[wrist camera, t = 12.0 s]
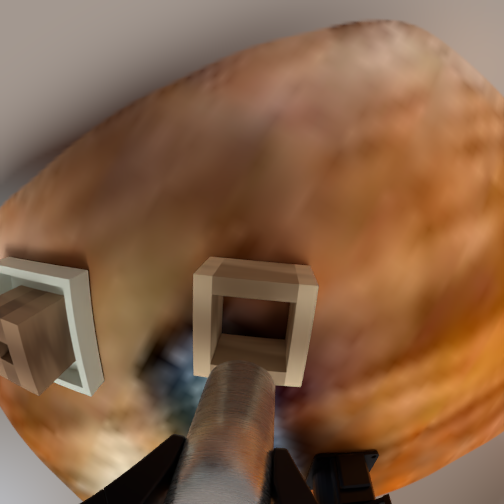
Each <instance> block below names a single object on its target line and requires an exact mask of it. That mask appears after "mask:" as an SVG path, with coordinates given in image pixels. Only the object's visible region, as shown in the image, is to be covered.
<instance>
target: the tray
mask: <svg viewBox="0 0 504 504" xmlns="http://www.w3.org/2000/svg"><path fill="white" fill-rule="evenodd" d="M20 285H23V286H26V287H30V288H34V289H38V290H42V291H47V292H51V293H55V294H59V295H64V298H65V305H66V312H67V318H68V324H69V329H70V335H71V340H72V345H73V349H74V354H75V358H76V361H75V362H74V363H73V364H72V365H71V366H70V367H69V368H68V369H67V370H66V371H64V372H63V373H62V374H61V375H60V376H59V377H58V378H57V379H56V380H55V381H54V382H55V383H57V384H59V385H62V386H64V387H67V388H69V389H72V390H75V391H77V392H80V393H83V394H86V395H88V396H91V397H92V395H93V394H94V393H95V392H96V390H97V389H98V388H99V387H100V386H101V384H102V383H103V382H104V377H103V373H102V368H101V363H100V358H99V352H98V347H97V341H96V335H95V328H94V321H93V314H92V306H91V297H90V287H89V276H88V270H84V269H77V268H71V267H65V266H59V265H53V264H47V263H41V262H35V261H29V260H24V259H18V258H13V257H7V258H4V259H1V260H0V295H1V294H3V293H5V292H7V291H9V290H12V289H14V288H16V287H18V286H20Z"/></svg>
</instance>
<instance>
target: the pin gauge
mask: <svg viewBox="0 0 504 504" xmlns="http://www.w3.org/2000/svg"><path fill="white" fill-rule="evenodd" d="M274 410H275V384H274V380H273V378H272V377H271V375H270V374H269V373H268V372H267V371H266V370H265V369H264V368H262V367H261V366H259V365H257V364H255V363H252V362H249V361H243V360H232V361H227V362H224V363H221V364H219V365H218V366H216V367H215V368H214V369H213V370H212V371H211V372H210V374H209V376H208V379H207V381H206V384H205V387H204V390H203V393H202V395H201V398H200V401H199V404H198V407H197V410H196V412H195V415H194V418H193V421H192V424H191V427H190V429H189V432H188V435H187V438H186V441H185V443H184V446H183V449H182V452H181V455H180V458H179V460H178V463H177V466H176V469H175V472H174V475H173V477H172V480H171V483H170V486H169V489H168V491H167V494H166V497H165V500H164V503H163V504H271V490H272V464H273V442H274Z"/></svg>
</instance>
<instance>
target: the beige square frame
mask: <svg viewBox="0 0 504 504" xmlns="http://www.w3.org/2000/svg"><path fill="white" fill-rule="evenodd" d="M318 287H319V285H318V283H317V281H316V278H315V276H314V273H313V271H312V269H311V266H308V265H297V264H286V263H275V262H264V261H253V260H242V259H231V258H220V257H209V258H208V259H207V260H206V261H205V262H204V263H203V264H202V265H201V266H200V268H199V269H198V270H197V271H196V272H195V273H194V274H193V367H194V375H195V376H202V377H208V376H209V374H210V372H211V371H212V370H213V369H214V368H215V367H216V366H218V365H219V364H221V363H224V362H227V361H232V360H243V361H249V362H252V363H255V364H257V365H259V366H261V367H262V368H264V369H265V370H266V371H267V372H268V373H269V374H270V375H271V377H272V378H273V380H274V384H275V385H280V386H296V387H301V384H302V379H303V374H304V369H305V364H306V359H307V353H308V348H309V343H310V337H311V331H312V325H313V319H314V313H315V307H316V301H317V294H318ZM223 296H230V297H239V298H249V299H260V300H270V301H282V302H290V307H289V315H288V323H287V330H286V337H285V340H282V339H270V338H260V337H250V336H240V335H231V334H223V333H222V314H223Z"/></svg>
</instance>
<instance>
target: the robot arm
mask: <svg viewBox="0 0 504 504" xmlns="http://www.w3.org/2000/svg"><path fill="white" fill-rule="evenodd" d="M185 441H186V438H185V437H184V436H181V435H176V434H173V435H171V436H170V437H169V438H168V439H166V440H165V441H164V442H163V443H162V444H160V445H159V446H158V447H157V448H156V449H154V450H153V451H152V452H151V453H149V454H148V455H147V456H146V457H144V458H143V459H142V460H141V461H139V462H138V463H137V464H135V465H134V466H133V467H132V468H130V469H129V470H128V471H126V472H125V473H124V474H122V475H121V476H120V477H118V478H117V479H116V480H114V481H113V482H112V483H110V484H109V485H108V486H106V487H105V488H104V490H103V489H102V490H100V491H99V492H98V493H96V494H95V495H93V496H92V497H90V498H89V499H87V500H85V501H84V502H82V503H80V504H163V503H164V500H165V497H166V494H167V491H168V489H169V486H170V483H171V480H172V477H173V475H174V472H175V469H176V466H177V463H178V460H179V458H180V455H181V452H182V449H183V446H184V443H185ZM378 456H379V454H378V452H377V451H370V452H357V453H338V454H318V455H316V456H315V457H314V459H313V462H312V465H311V467H310V470H309V472H308V475H307V478H306V480H304V478H303V477H302V475H301V473H300V471H299V470H298V468H297V466H296V464H295V462H294V461H293V459H292V457H291V455H290V453H289V452H288V450H287V449H285V448H274V450H273V464H272V490H271V504H392V503H391V500H390V496H389V494H387V495H384V496H383V497H381V498H378V499H375V494H374V490H373V486H372V482H371V478H370V474H369V472H370V470H371V468H372V467H373V465H374V463H375V462H376V460H377V458H378ZM311 490H313V494H312V492H311ZM313 495H314V496H313Z"/></svg>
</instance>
